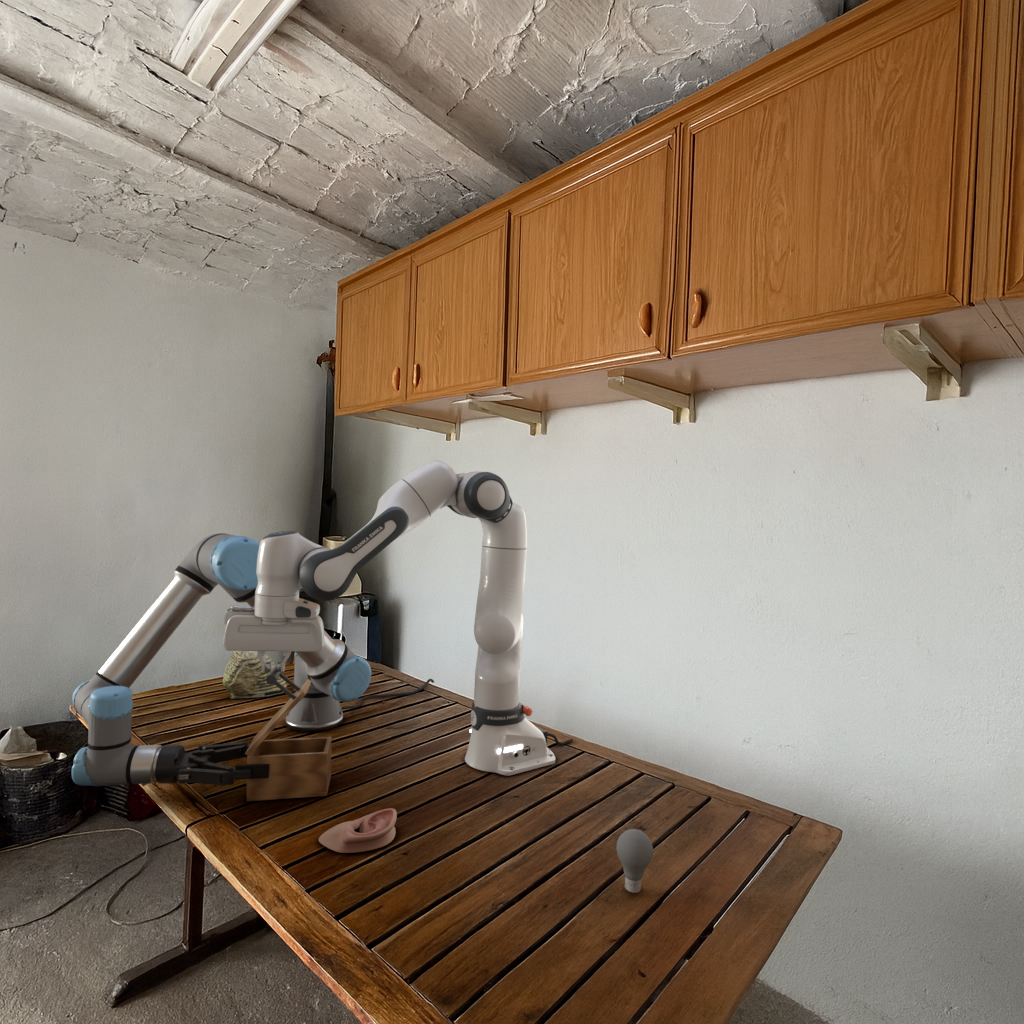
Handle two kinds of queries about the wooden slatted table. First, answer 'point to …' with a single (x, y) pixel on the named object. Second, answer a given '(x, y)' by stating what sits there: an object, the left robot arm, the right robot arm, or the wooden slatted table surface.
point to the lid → (284, 710)
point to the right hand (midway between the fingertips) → (273, 671)
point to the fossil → (249, 676)
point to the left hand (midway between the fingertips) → (273, 761)
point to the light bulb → (634, 857)
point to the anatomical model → (362, 833)
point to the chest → (291, 768)
